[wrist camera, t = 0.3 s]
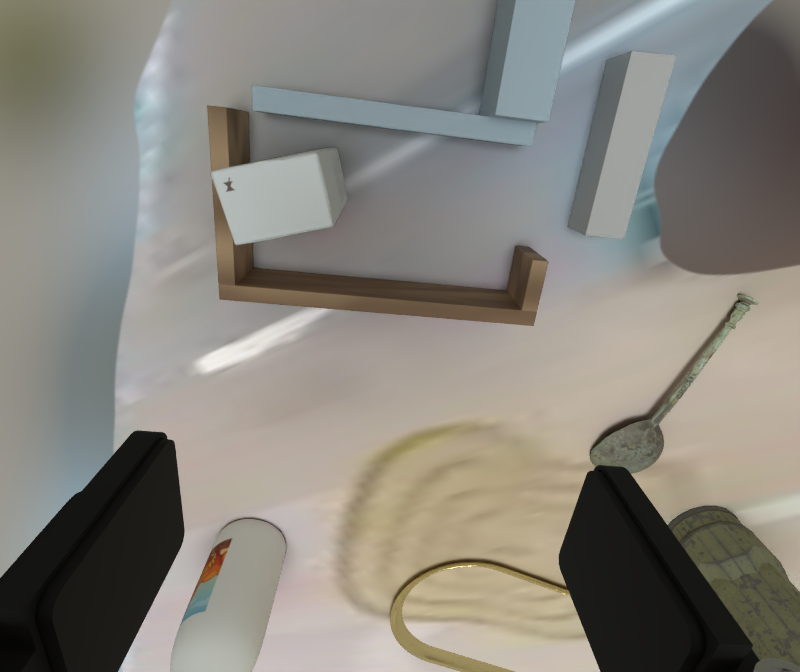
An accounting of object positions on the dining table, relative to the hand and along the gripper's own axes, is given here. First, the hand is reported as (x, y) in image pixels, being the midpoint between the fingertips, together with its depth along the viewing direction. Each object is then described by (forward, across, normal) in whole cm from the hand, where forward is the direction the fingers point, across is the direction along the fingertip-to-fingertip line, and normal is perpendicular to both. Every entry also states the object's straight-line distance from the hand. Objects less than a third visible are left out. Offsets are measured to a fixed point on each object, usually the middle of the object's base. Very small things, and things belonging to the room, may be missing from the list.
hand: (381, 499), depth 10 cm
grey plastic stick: (+30, -16, -8) cm, 35 cm away
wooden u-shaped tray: (+30, 0, -2) cm, 30 cm away
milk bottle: (+30, +12, +36) cm, 48 cm away
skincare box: (+30, +7, -4) cm, 31 cm away
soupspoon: (+31, -29, +12) cm, 44 cm away
